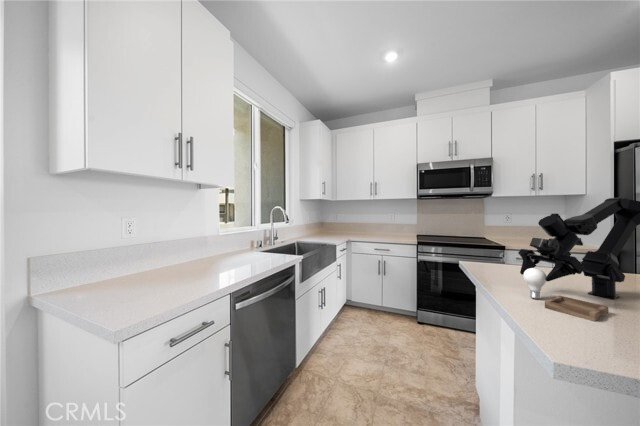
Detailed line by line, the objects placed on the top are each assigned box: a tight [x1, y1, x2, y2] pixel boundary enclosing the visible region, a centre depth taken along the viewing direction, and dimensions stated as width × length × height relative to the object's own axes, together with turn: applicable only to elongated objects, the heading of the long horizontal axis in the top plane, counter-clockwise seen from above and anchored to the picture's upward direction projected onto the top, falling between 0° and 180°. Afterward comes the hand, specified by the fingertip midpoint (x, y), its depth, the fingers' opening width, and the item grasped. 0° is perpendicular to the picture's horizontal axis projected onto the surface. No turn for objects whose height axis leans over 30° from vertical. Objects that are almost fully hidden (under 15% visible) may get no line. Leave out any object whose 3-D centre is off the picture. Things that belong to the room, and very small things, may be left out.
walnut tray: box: [544, 295, 610, 322], centre depth 75 cm, size 11×11×2 cm
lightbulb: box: [522, 267, 547, 300], centre depth 86 cm, size 6×6×11 cm
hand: (533, 277), depth 86 cm, fingers open, 9 cm apart
